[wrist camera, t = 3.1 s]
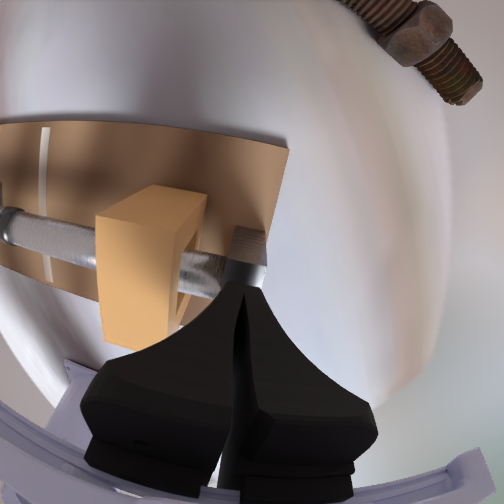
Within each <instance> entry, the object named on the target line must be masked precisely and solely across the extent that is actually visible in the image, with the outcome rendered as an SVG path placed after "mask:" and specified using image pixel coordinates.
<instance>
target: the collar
mask: <svg viewBox="0 0 504 504" xmlns="http://www.w3.org/2000/svg"><path fill="white" fill-rule="evenodd" d="M207 195H208V194H202V193H197V192H192V191H187V190H181V189H176V188H170V187H164V186H159V185H151V186H149V187H147V188H145V189H143V190H141V191H139V192H137V193H135V194H133V195H131V196H129V197H127V198H126V199H124V200H122V201H120V202H118V203H116V204H115V205H113V206H111V207H109V208H107V209H106V210H104V211H102V212H100V213H99V214H97V215H96V221H95V239H96V269H97V284H98V296H99V305H100V314H101V322H102V329H103V336H104V341H106V342H109V343H112V344H115V345H118V346H121V347H124V348H127V349H131V350H134V351H140V350H142V349H145V348H147V347H149V346H151V345H153V344H156V343H158V342H160V341H162V340H163V339H165V338H167V337H169V336H170V335H172V334H173V333H175V332H177V330H178V328H179V325H180V322H181V320H182V317H183V315H184V312H185V310H186V307H187V305H188V302H189V300H190V297H191V294H186V293H182V292H178V285H179V275H180V266H181V257H182V253H183V251H184V250H185V248H189V249H194V250H199V244H200V237H201V231H202V225H203V219H204V213H205V207H206V201H207Z"/></svg>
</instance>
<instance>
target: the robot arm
mask: <svg viewBox="0 0 504 504" xmlns="http://www.w3.org/2000/svg"><path fill="white" fill-rule="evenodd" d="M63 363H64V366H65V369H66V372H67V375H68V377H69V380H70V385H69V386H68V388H67V390H66V391H65V393H64V395H63V397H62V398H61V400H60V402H59V404H58V405H57V407H56V409H55V411H54V413H53V415H52V416H51V418H50V420H49V422H48V424H47V426H46V427H45V429H43V428H41V427H40V426H38V425H36V424H34V423H33V422H31V421H30V420H28V419H27V418H25V417H23V416H22V415H20V414H19V413H17V412H16V411H14V410H13V409H12V408H10V407H9V406H7V405H6V404H5V403H3V402H2V401H0V480H1V481H2V482H3V485H2V488H1V493H2V499H3V501H4V503H5V504H479V503H480V502H482V501H483V500H485V499H486V498H488V497H489V496H491V495H492V494H493V493H495V492H496V488H495V485H494V482H493V480H492V477H491V474H490V472H489V469H488V467H487V464H486V462H485V459H484V457H483V455H482V452H481V450H480V448H479V447H477V448H474V449H472V450H470V451H467V452H465V453H463V454H461V455H459V456H458V457H456V458H455V459H453V460H452V461H451V462H449V463H448V464H447V465H446V466H444V467H441V468H438V469H435V470H432V471H429V472H426V473H423V474H419V475H416V476H412V477H408V478H404V479H400V480H396V481H393V482H387V483H383V484H378V485H372V486H367V487H360V488H354V489H353V487H352V481H351V475H352V474H353V473H354V472H355V467H354V462H353V461H355V460H356V459H357V458H358V457H359V456H361V454H363V453H364V452H365V451H366V450H367V449H369V448H370V447H371V445H372V444H373V443H374V442H375V441H376V439H377V436H378V430H377V426H376V423H375V419H374V415H373V413H372V410H371V407H370V405H369V403H368V402H366V401H364V400H363V399H361V398H359V397H358V396H356V395H354V394H353V393H351V392H349V391H348V390H346V389H344V388H343V387H341V386H340V385H339V384H337V383H336V382H335V381H333V380H332V379H331V378H329V377H328V376H327V375H325V374H324V373H323V372H322V371H321V370H319V369H318V368H317V367H316V366H315V365H314V364H313V363H312V362H311V361H310V360H309V359H308V358H307V357H306V356H305V355H304V354H303V353H302V352H301V351H300V350H299V349H298V348H297V347H296V345H295V344H294V343H293V342H292V341H291V339H290V338H289V337H288V336H287V334H286V333H285V331H284V330H283V328H282V327H281V325H280V324H279V322H278V321H277V319H276V317H275V316H274V314H273V312H272V310H271V309H270V307H269V305H268V303H267V301H266V299H265V297H264V295H263V292H262V290H261V289H260V287H255V286H250V285H245V284H240V283H235V282H231V281H228V282H226V283H225V285H224V287H223V288H222V290H221V291H220V292H219V294H218V295H217V296H216V297H215V299H214V300H213V301H212V302H211V303H210V304H209V305H208V306H207V307H206V308H205V309H204V310H203V311H202V312H201V313H200V314H199V315H198V316H197V317H195V318H194V319H193V320H192V321H191V322H189V323H188V324H187V325H185V326H184V327H183V328H181V329H180V330H178V331H177V332H175V333H173V334H172V335H170V336H169V337H167V338H165V339H163V340H162V341H160V342H158V343H156V344H153V345H151V346H149V347H147V348H145V349H142V350H140V351H137V352H135V353H132V354H128V355H125V356H122V357H119V358H115V359H112V360H108V361H106V363H105V364H104V365H103V366H102V368H101V369H100V370H99V371H98V372H96V371H94V370H91V369H89V368H86V367H84V366H81V365H79V364H77V363H74V362H72V361H70V360H67V359H65V360H64V362H63ZM221 453H222V456H221V463H220V470H219V476H218V482H217V488H213V487H207V486H208V483H209V481H210V478H211V476H212V473H213V471H215V468H216V466H217V463H218V461H219V458H220V455H221ZM120 490H123V491H126V492H129V493H132V494H135V495H138V496H142V497H143V498H136V497H132V496H129V495H125V494H122V493H121V492H120Z"/></svg>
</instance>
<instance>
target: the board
mask: <svg viewBox="0 0 504 504" xmlns="http://www.w3.org/2000/svg"><path fill="white" fill-rule="evenodd" d="M289 150H290V149H287V148H283V147H279V146H275V145H271V144H266V143H262V142H257V141H253V140H248V139H243V138H238V137H233V136H227V135H222V134H216V133H210V132H204V131H197V130H190V129H183V128H175V127H167V126H158V125H148V124H137V123H124V122H106V121H39V122H22V123H10V124H1V125H0V182H1V183H2V198H3V206H4V207H8V206H12V207H17V208H21V209H23V210H24V211H25V212H29V213H33V214H38V215H42V216H46V217H50V218H55V219H59V220H63V221H68V222H72V223H77V224H81V225H85V226H90V227H94V228H95V221H96V215H97V214H99V213H100V212H102V211H104V210H106V209H107V208H109V207H111V206H113V205H115V204H116V203H118V202H120V201H122V200H124V199H126V198H127V197H129V196H131V195H133V194H135V193H137V192H139V191H141V190H143V189H145V188H147V187H149V186H151V185H159V186H164V187H170V188H176V189H181V190H187V191H192V192H197V193H202V194H208V195H207V201H206V207H205V213H204V219H203V225H202V231H201V237H200V244H199V251H203V252H208V253H213V254H217V255H222V256H228V252H229V248H230V245H231V241H232V237H233V233H234V230H235V226H236V225H238V226H243V227H247V228H252V229H257V230H261V231H265V234H266V242H267V238H268V234H269V230H270V226H271V222H272V218H273V214H274V210H275V206H276V203H277V199H278V195H279V191H280V186H281V182H282V178H283V174H284V170H285V166H286V162H287V158H288V154H289ZM0 265H2V266H4V267H7V268H9V269H11V270H13V271H16V272H18V273H20V274H23V275H25V276H28V277H30V278H33V279H35V280H38V281H40V282H43V283H45V284H48V285H51V286H53V287H56V288H59V289H61V290H64V291H67V292H70V293H73V294H75V295H78V296H81V297H84V298H87V299H90V300H93V301H96V302H99V296H98V284H97V270H93V269H90V268H86V267H83V266H80V265H76V264H73V263H70V262H66V261H63V260H60V259H57V258H54V257H50V256H47V255H44V254H41V253H38V252H35V251H32V250H29V249H26V248H23V247H20V246H11V245H9V244H6V243H3V242H1V241H0ZM212 301H213V299H209V298H204V297H200V296H195V295H191V297H190V300H189V302H188V305H187V307H186V310H185V312H184V315H183V317H182V320H181V322H180V325H182V326H185V325H187V324H188V323H189V322H191V321H192V320H193V319H194V318H195V317H197V316H198V315H199V314H200V313H201V312H202V311H203V310H204V309H205V308H206V307H207V306H208V305H209V304H210V303H211V302H212Z"/></svg>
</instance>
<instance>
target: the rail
mask: <svg viewBox="0 0 504 504" xmlns="http://www.w3.org/2000/svg"><path fill="white" fill-rule="evenodd" d="M0 241H1V242H3V243H6V244H9V245H11V246H20V247H23V248H26V249H29V250H32V251H35V252H38V253H41V254H44V255H47V256H50V257H54V258H57V259H60V260H63V261H66V262H70V263H73V264H76V265H80V266H83V267H86V268H90V269H93V270H97V269H96V239H95V228H94V227H90V226H85V225H81V224H77V223H72V222H68V221H63V220H59V219H55V218H50V217H46V216H42V215H38V214H33V213H29V212H25V211H24V210H23V209H21V208H17V207H12V206H8V207H4V206H3V198H2V183H1V182H0ZM266 269H267V254H266V234H265V231H261V230H257V229H252V228H247V227H243V226H238V225H236V226H235V230H234V233H233V237H232V241H231V245H230V248H229V252H228V256H222V255H217V254H213V253H208V252H203V251H199V250H194V249H189V248H185V250H184V251H183V253H182V257H181V266H180V275H179V285H178V292H182V293H186V294H191V295H195V296H200V297H204V298H209V299H213V300H214V299H215V297H216V296H217V295H218V294H219V292H220V291H221V290H222V288H223V287H224V285H225V283H226V282H228V281H231V282H235V283H240V284H245V285H250V286H255V287H260V289H261V287H262V284H263V280H264V276H265V273H266Z"/></svg>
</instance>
